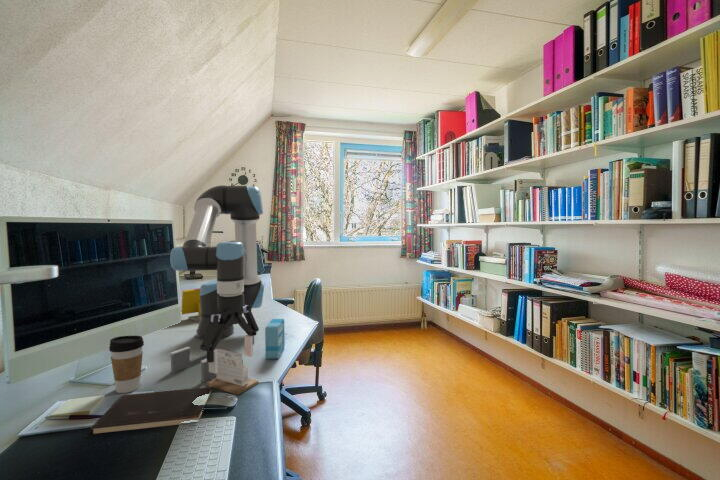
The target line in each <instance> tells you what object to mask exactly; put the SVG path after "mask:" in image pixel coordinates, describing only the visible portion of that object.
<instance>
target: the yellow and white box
mask: <svg viewBox="0 0 720 480" xmlns="http://www.w3.org/2000/svg"><path fill="white" fill-rule="evenodd" d="M181 297H182V298H181V312H182V314H181V315H188V314H194V313H195V314H196V313H197V315H191V316H188V317H187V318H188V320H191V321H194V322H198V321H199V322H200V318H201V313H200V287H198V288H197V287H196V288H193V289H184V290H182V296H181ZM181 312H180V313H181Z"/></svg>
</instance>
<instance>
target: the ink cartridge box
mask: <svg viewBox="0 0 720 480" xmlns="http://www.w3.org/2000/svg"><path fill="white" fill-rule="evenodd" d="M215 350H217V361H218V373H217V377H216V378H217V379H219V380H222V381H225V382H229V383H232V384H236V385H239V386H245V385H246V384H248V378H249V366H246V365H243V364H242V360H243V354H242V353H239V352H234V351H230V350H226V349H222V348H217V347H216V348H215ZM227 354H229V355H231V356H229V357H227V356H228V355H227ZM231 357H233V358H231Z"/></svg>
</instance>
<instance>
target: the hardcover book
mask: <svg viewBox="0 0 720 480" xmlns="http://www.w3.org/2000/svg"><path fill="white" fill-rule="evenodd" d="M209 393H211V394H212V393H213V387H211V386H208V387H197V388H196V387H195V388H186V389H176V390H175V389H174V390H173V389H172V390H167V391H166V390H162V391H153V392H152V391H151V392H141V393H131V394H122V395H120V397H118V399H117V400H116V401H115V402H113V404H112V405H110V407H109V408H108V409H107V410H106V411H105V412H104V413H103V415H101V416H100V418H98V419H97V421H96V422H95V423H94V424H93V425H92V426H91V427H90V430H92V431H93V432H92V433H93V435H94V434H95V435H96V434H102V433H103V434H104V433H112V432H121V431H130V430H131V431H132V430H139V429H141V430H142V429H148V428H149V429H150V428H158V427H166V426H176V425H181V424H180V423H181V422H184V421H190V420H199V421H200V419H201V417H202V414H203V412H204V410H202V409H203V405H201V406H198V405H194V404H193V403H192V402H193V401H194V400H195V399H196V398H197V397H199V396H202V395H205V394H209ZM202 411H203V412H202ZM199 418H200V419H199Z"/></svg>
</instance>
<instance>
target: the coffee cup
mask: <svg viewBox="0 0 720 480" xmlns="http://www.w3.org/2000/svg"><path fill="white" fill-rule="evenodd" d="M144 345H145V342H144V338H143V336H140V335H122V336H121V335H120V336H117V337H113V338H111V339H110V341H109V348H108V350H109V352H111V353H110V354H111V357H110V360H111V367H112V372H113V379H114V386H115V392H116V393H117V394H126V393H127V394H128V393H131V392H134V391H136V390H138V389H139V388H140V386H141V378H142V377H141V376H142V367H143V366H142V365H143V364H142V363H143V346H144Z"/></svg>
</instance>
